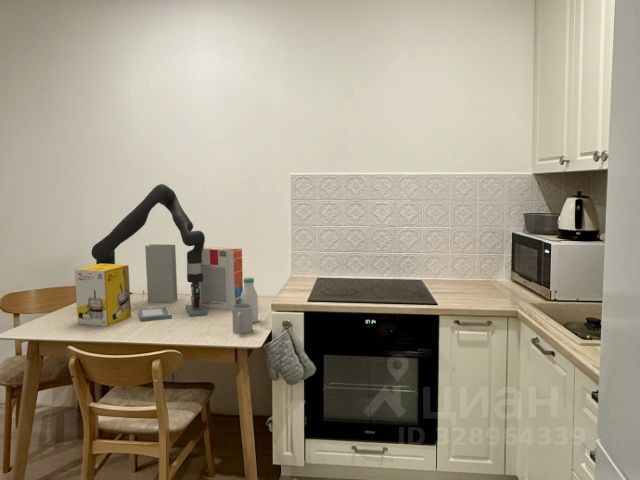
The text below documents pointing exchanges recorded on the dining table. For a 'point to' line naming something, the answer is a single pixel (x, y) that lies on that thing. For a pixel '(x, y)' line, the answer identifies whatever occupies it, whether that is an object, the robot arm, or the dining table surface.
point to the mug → (242, 318)
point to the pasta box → (221, 277)
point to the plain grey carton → (161, 273)
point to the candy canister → (250, 297)
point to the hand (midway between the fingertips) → (196, 306)
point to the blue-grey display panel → (154, 314)
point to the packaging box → (102, 294)
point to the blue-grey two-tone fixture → (198, 310)
